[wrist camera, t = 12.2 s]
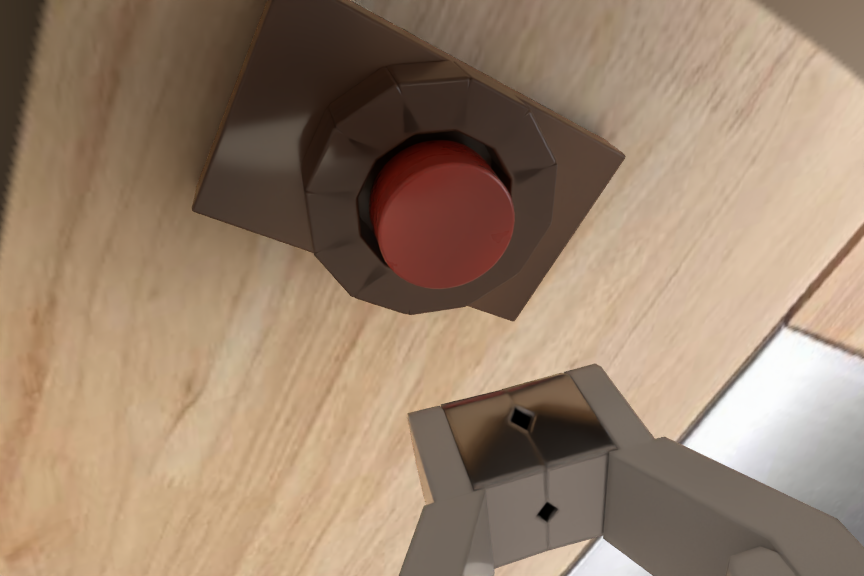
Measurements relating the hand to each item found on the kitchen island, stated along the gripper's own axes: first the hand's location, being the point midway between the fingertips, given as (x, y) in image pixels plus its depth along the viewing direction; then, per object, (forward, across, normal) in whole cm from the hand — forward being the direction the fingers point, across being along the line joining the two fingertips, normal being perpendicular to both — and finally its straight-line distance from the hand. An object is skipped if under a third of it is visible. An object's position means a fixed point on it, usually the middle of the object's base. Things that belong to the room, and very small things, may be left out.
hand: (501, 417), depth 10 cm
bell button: (+7, -1, 0) cm, 7 cm away
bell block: (+10, -1, 0) cm, 10 cm away
